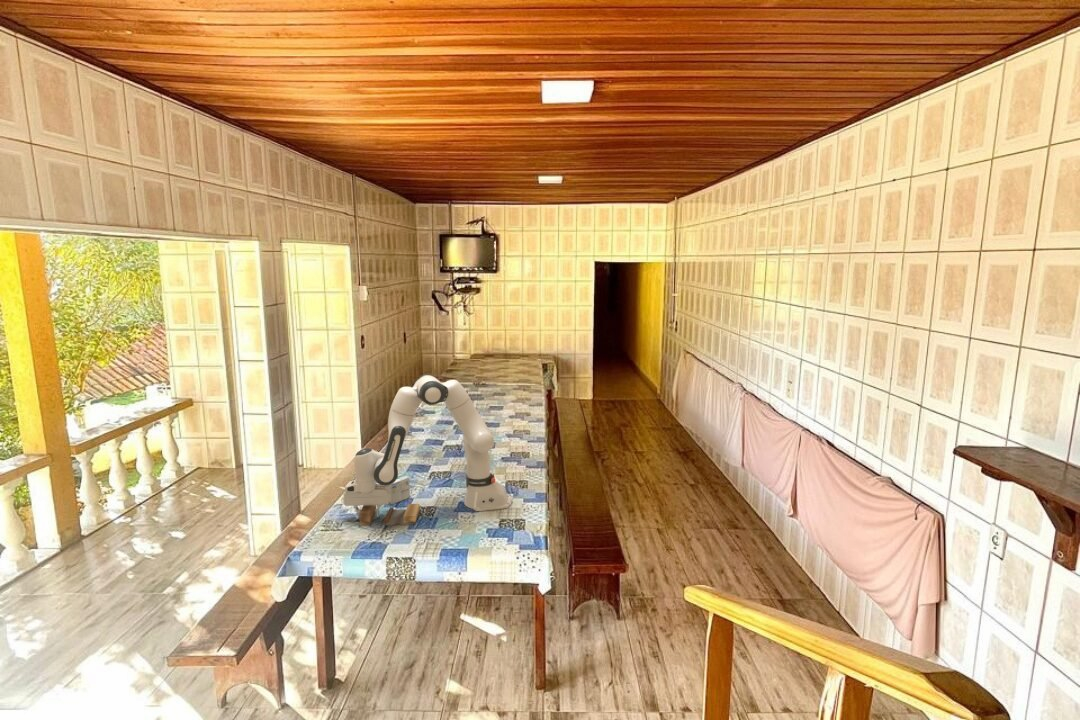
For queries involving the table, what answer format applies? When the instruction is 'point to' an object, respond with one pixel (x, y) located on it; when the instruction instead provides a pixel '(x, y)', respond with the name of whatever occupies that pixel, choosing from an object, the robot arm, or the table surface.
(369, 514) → the walnut plank
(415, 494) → the table surface
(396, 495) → the light bulb box
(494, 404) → the table surface
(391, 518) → the floor section
